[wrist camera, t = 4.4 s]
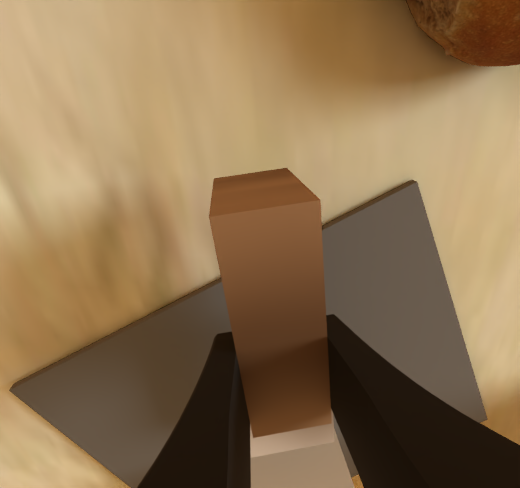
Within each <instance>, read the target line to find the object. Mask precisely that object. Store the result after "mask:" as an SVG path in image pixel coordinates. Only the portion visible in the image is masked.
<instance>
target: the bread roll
mask: <svg viewBox="0 0 520 488" xmlns="http://www.w3.org/2000/svg"><path fill="white" fill-rule="evenodd" d="M406 2H407V4H408V6H409V9H410V11H411V14H412V15H413V17H414V19H415V21H416V24H417V25H418V26H419V27H420V28H421V29H422V30H423V31H424V32H425V33H426V34H427V35H428V36H429V37H430V38H432V39H433V40H434V41H436V42H437V43H438V44H440V45H441V46H442V47H443V48H444V49H445V53H446V55H447V56H448V55H452V56H454V57H455V58H457V59H459V60H461V61H463V62H466V63H468V64H471V65H477V66H510V65H518V64H520V0H406Z"/></svg>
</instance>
